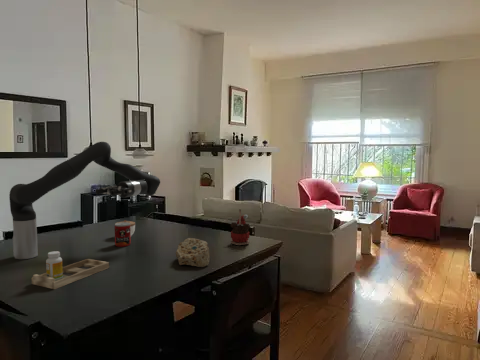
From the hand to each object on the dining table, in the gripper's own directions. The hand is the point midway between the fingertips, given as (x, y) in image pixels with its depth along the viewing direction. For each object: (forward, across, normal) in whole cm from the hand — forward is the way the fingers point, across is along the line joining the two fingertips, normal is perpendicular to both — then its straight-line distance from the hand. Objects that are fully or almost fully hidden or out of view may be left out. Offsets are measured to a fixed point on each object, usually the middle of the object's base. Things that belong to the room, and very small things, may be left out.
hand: (103, 192), depth 166 cm
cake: (-51, +42, +30) cm, 73 cm away
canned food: (-23, -11, +30) cm, 39 cm away
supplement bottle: (+29, +4, +29) cm, 41 cm away
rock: (-16, +36, +30) cm, 49 cm away
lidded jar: (-37, -22, +30) cm, 53 cm away
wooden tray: (+21, +4, +30) cm, 37 cm away
